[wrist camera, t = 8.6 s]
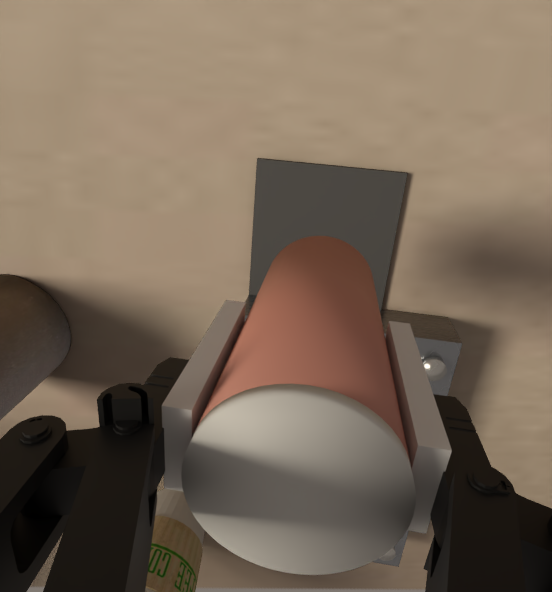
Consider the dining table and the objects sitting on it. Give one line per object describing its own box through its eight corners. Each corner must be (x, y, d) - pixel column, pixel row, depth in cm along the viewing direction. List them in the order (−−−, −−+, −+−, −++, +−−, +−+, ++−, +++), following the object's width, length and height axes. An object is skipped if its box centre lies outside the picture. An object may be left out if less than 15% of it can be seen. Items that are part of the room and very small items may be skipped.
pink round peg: (262, 328, 23) (181, 553, 11) (270, 229, 21) (180, 380, 9) (364, 341, 23) (391, 591, 11) (382, 242, 21) (441, 418, 9)
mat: (249, 292, 34) (248, 294, 33) (258, 158, 30) (257, 158, 29) (380, 308, 33) (380, 311, 32) (406, 172, 29) (407, 173, 28)
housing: (237, 499, 42) (226, 542, 38) (249, 292, 34) (237, 318, 29) (393, 526, 41) (399, 573, 37) (448, 317, 32) (464, 347, 28)
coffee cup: (240, 500, 42) (193, 686, 28) (205, 558, 46) (149, 746, 32) (148, 459, 42) (55, 627, 28) (120, 521, 46) (26, 695, 32)
